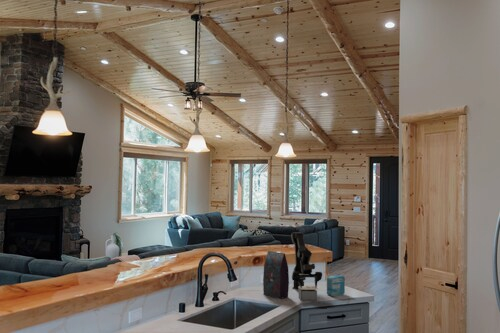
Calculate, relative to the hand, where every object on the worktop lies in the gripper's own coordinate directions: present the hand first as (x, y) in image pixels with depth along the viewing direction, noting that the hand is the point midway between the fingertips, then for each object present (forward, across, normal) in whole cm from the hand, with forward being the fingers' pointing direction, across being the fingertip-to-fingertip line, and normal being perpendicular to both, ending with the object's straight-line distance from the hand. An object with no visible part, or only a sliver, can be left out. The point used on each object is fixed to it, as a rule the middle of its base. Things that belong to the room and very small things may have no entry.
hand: (308, 287), depth 277 cm
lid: (-1, 0, +3) cm, 3 cm away
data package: (-5, +21, +17) cm, 28 cm away
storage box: (+3, 0, +8) cm, 9 cm away
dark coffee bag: (-3, -19, +15) cm, 24 cm away
